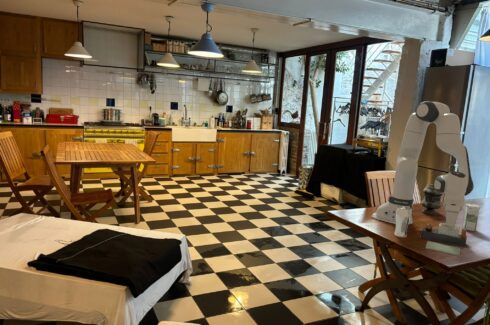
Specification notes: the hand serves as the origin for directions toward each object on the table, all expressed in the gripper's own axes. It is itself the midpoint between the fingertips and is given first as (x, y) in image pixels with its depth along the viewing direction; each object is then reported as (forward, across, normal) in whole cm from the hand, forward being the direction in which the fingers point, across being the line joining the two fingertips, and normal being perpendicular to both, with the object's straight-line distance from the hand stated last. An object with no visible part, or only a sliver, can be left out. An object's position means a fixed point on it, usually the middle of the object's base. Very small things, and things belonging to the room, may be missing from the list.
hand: (449, 230), depth 181 cm
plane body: (+6, 0, -3) cm, 6 cm away
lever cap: (+2, 0, 0) cm, 2 cm away
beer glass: (+6, +7, -22) cm, 23 cm away
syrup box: (+6, -31, +9) cm, 32 cm away
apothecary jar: (+6, -54, -13) cm, 56 cm away
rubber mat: (+6, +13, -2) cm, 15 cm away
